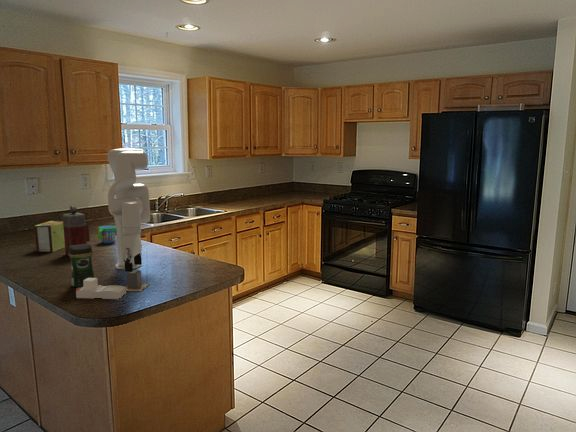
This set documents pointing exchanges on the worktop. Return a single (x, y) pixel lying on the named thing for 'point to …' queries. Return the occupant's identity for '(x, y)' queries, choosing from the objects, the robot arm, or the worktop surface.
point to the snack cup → (107, 234)
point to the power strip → (99, 290)
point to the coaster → (138, 288)
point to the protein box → (49, 236)
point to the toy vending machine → (75, 229)
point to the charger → (134, 279)
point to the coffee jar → (80, 264)
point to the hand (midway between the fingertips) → (133, 267)
